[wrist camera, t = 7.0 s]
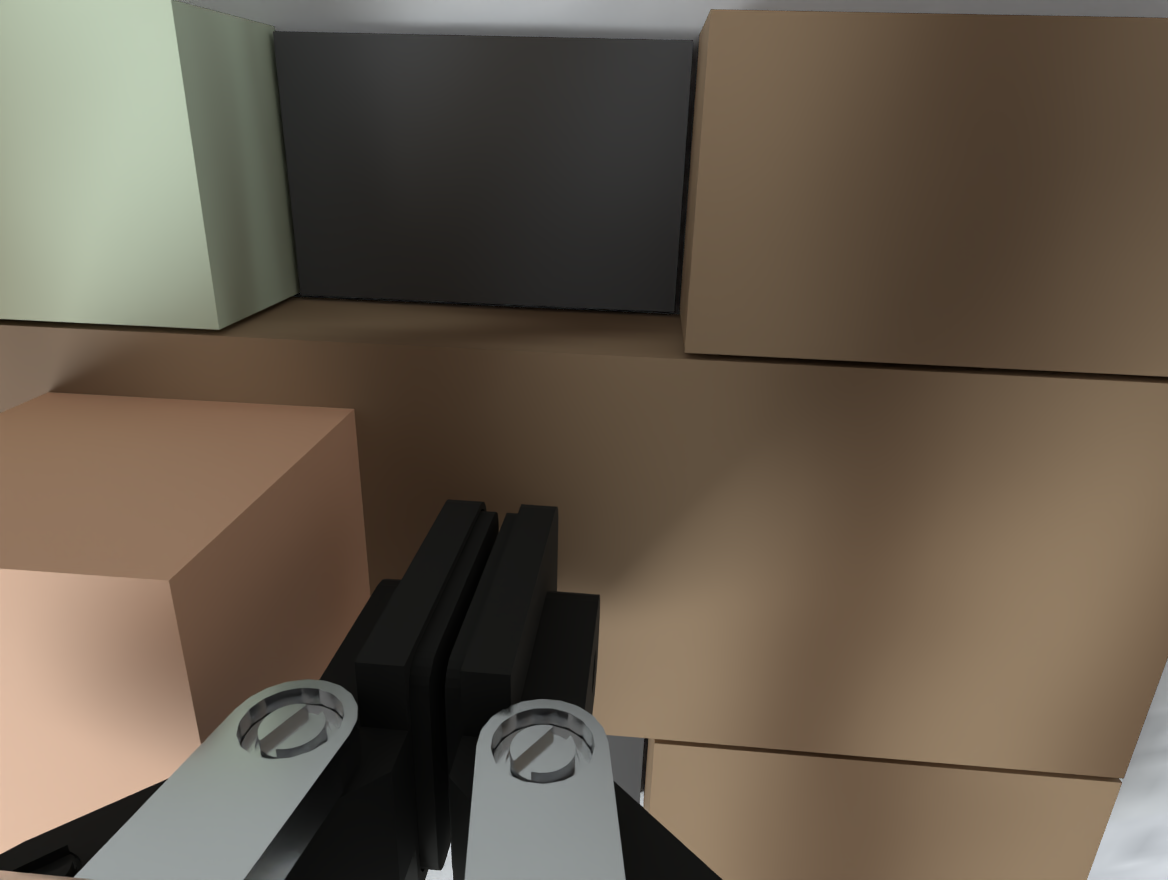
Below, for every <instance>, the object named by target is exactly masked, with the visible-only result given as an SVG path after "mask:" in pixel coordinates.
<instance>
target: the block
mask: <svg viewBox="0 0 1168 880" xmlns="http://www.w3.org/2000/svg"><path fill="white" fill-rule="evenodd" d="M369 598H370V584H369V573H368V561H367V550H366V538H365V527H364V515H363V504H362V492H361V481H360V469H359V458H358V446H357V435H356V423H355V412H354V409H347V408H329V407H311V406H292V405H274V404H256V403H237V402H219V401H201V400H182V399H164V398H146V397H128V396H109V395H91V394H73V393H54V392H47V393H45V394H43V395H41V396H38V397H36V398H34V399H31V400H29V401H27V402H24V403H22V404H20V405H18V406H15V407H13V408H11V409H8V410H6V411H4V412H1V413H0V854H2V853H4V852H6V851H7V850H9V849H11V848H13V847H15V846H17V845H19V844H20V843H22V842H24V841H27V840H29V839H31V838H33V837H36V836H38V835H40V834H43V833H45V832H47V831H49V830H52V829H54V828H56V827H59V826H61V825H63V824H65V823H68V822H70V821H72V820H75V819H77V818H79V817H81V816H84V815H86V814H88V813H90V812H93V811H95V810H97V809H100V808H102V807H104V806H106V805H109V804H111V803H113V802H116V801H118V800H120V799H122V798H125V797H127V796H129V795H132V794H134V793H136V792H138V791H141V790H143V789H145V788H148V787H150V786H152V785H154V784H157V783H159V782H161V781H163V780H166V779H168V778H169V777H170V776H171V775H172V774H173V773H174V772H175V771H176V770H177V769H178V768H179V767H180V766H181V765H182V764H183V763H184V762H185V761H186V760H187V759H188V758H189V756H190V755H191V754H192V753H193V752H194V751H195V750H196V749H197V748H198V747H199V746H200V745H201V744H202V743H203V742H204V741H205V740H206V739H207V738H208V737H209V736H210V735H211V734H212V733H213V731H214V730H215V729H216V728H217V727H218V726H219V725H220V724H221V723H222V722H223V721H224V720H225V719H226V718H227V717H228V716H229V715H230V714H231V713H232V712H233V711H234V710H235V709H236V708H237V707H238V706H239V705H241V704H242V703H243V702H244V701H246V700H247V699H248V698H249V697H251V696H253V695H255V694H257V693H259V692H261V691H262V690H264V689H266V688H269V687H272V686H275V685H278V684H282V683H285V682H289V681H297V680H305V679H311V680H319V679H320V678H321V676H322V674H323V673H324V671H325V670H326V668H327V666H328V665H329V663H330V661H331V660H332V658H333V657H334V655H335V653H336V652H337V650H338V648H339V647H340V645H341V644H342V642H343V640H344V639H345V637H346V635H347V634H348V632H349V631H350V629H351V627H352V626H353V624H354V622H355V621H356V619H357V618H358V616H359V614H360V613H361V611H362V609H363V608H364V606H365V605H366V603H367V601H368V600H369Z"/></svg>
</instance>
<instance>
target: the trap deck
mask: <svg viewBox="0 0 1168 880" xmlns="http://www.w3.org/2000/svg"><path fill="white" fill-rule="evenodd" d="M692 51H693V40H652V39H605V38H558V37H512V36H465V35H419V34H372V33H325V32H279V31H275V27H274V26H270V25H267V24H263V23H259V22H255V21H251V20H248V19H244V18H240V17H236V16H232V15H229V14H225V13H221V12H217V11H213V10H210V9H206V8H202V7H198V6H194V5H190V4H187V3H183V2H179V1H175V0H0V413H1V412H4V411H6V410H8V409H11V408H13V407H15V406H18V405H20V404H22V403H24V402H27V401H29V400H31V399H34V398H36V397H38V396H41V395H43V394H45V393H47V392H54V393H73V394H91V395H109V396H128V397H146V398H164V399H182V400H201V401H219V402H237V403H256V404H274V405H292V406H311V407H329V408H347V409H354V412H355V423H356V435H357V446H358V458H359V469H360V481H361V492H362V504H363V515H364V527H365V538H366V550H367V561H368V573H369V584H370V596H371V595H372V593H373V592H374V590H375V588H376V587H377V585H378V584H379V583H380V582H381V580H383V579H399V580H401V579H402V578H403V576H404V574H405V572H406V571H407V569H408V567H409V565H410V564H411V562H412V560H413V558H414V557H415V555H416V553H417V551H418V550H419V548H420V546H421V544H422V543H423V541H424V539H425V537H426V536H427V534H428V532H429V530H430V529H431V527H432V525H433V523H434V521H435V520H436V518H437V516H438V514H439V513H440V511H441V509H442V507H443V506H444V504H445V502H446V501H447V500H448V499H451V500H466V501H481V502H485V504H486V510H487V511H490V512H497V513H498V519H499V530H500V528H501V525H502V523H503V520H504V518H505V515H506V513H518V511H519V509H520V506H521V504H525V505H540V506H555V507H558V567H557V591H559V592H572V593H586V594H599V595H600V622H599V643H598V660H597V674H596V686H595V696H594V705H593V714H592V715H593V716H594V717H595V718H596V719H597V721H598V722H599V723H600V724H601V725H602V727H603V728H604V730H605V733H606V736H607V739H608V742H609V750H610V758H611V766H612V774H613V781H615V782H616V783H617V784H618V785H619V786H620V787H621V788H622V789H623V790H624V791H626V792H627V793H628V794H629V795H630V796H631V797H632V798H633V799H634V800H635V801H637V802H638V803H639V804H640V790H641V776H642V762H643V748H644V738H648V747H647V761H646V775H645V789H644V809H645V810H647V811H648V812H649V813H650V814H651V815H652V816H653V817H654V818H655V819H656V820H658V821H659V822H660V823H661V824H662V825H663V826H664V827H665V828H666V829H667V830H669V831H670V832H671V833H672V834H673V835H674V836H675V837H676V838H677V839H678V840H680V841H681V842H682V843H683V844H684V845H685V846H686V847H687V848H688V849H689V850H691V851H692V852H693V853H694V854H695V855H696V856H697V857H698V858H699V859H701V860H702V861H703V862H704V863H705V864H706V865H707V866H708V867H709V868H710V869H712V870H713V871H714V872H715V873H716V874H717V875H718V876H719V877H720V878H721V879H723V880H1087V878H1088V875H1089V872H1090V870H1091V867H1092V864H1093V861H1094V859H1095V856H1096V853H1097V850H1098V848H1099V845H1100V842H1101V839H1102V837H1103V834H1104V831H1105V828H1106V826H1107V823H1108V820H1109V817H1110V815H1111V812H1112V809H1113V806H1114V804H1115V801H1116V798H1117V795H1118V793H1119V790H1120V787H1121V784H1122V782H1121V781H1120V779H1119V778H1124V776H1125V774H1126V771H1127V768H1128V765H1129V763H1130V760H1131V757H1132V754H1133V752H1134V749H1135V746H1136V743H1137V741H1138V738H1139V735H1140V732H1141V730H1142V727H1143V724H1144V721H1145V719H1146V716H1147V713H1148V710H1149V708H1150V705H1151V702H1152V699H1153V697H1154V694H1155V691H1156V688H1157V686H1158V683H1159V680H1160V678H1161V675H1162V672H1163V669H1164V667H1165V664H1166V661H1167V658H1168V18H1144V17H1091V16H1037V15H983V14H930V13H876V12H823V11H769V10H715V9H711V10H710V12H709V15H708V17H707V19H706V21H705V24H704V26H703V28H702V30H701V33H700V35H699V46H698V60H697V74H696V88H695V101H694V115H693V129H692V143H691V156H690V170H689V184H688V198H687V211H686V225H685V239H684V252H683V266H682V280H681V294H680V307H679V309H680V314H665V313H643V312H622V311H600V310H578V309H557V308H535V307H513V306H492V305H470V304H448V303H426V302H405V301H383V300H361V299H340V298H318V297H296V296H294V295H296V294H298V293H301V295H314V296H336V297H358V298H380V299H402V300H423V301H445V302H467V303H489V304H511V305H532V306H554V307H576V308H598V309H619V310H641V311H663V312H674V307H675V293H676V279H677V264H678V250H679V236H680V222H681V207H682V193H683V179H684V165H685V151H686V136H687V122H688V108H689V94H690V80H691V65H692Z"/></svg>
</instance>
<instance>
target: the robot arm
mask: <svg viewBox="0 0 1168 880" xmlns="http://www.w3.org/2000/svg"><path fill="white" fill-rule="evenodd" d="M557 567H558V507H555V506H540V505H525V504H521V506H520V509H519V511H518V513H506V515H505V518H504V520H503V523H502V525H501V528H500V530H499V519H498V513H497V512H490V511H487V510H486V504H485V502H481V501H466V500H451V499H448V500H447V501H446V502H445V504H444V506H443V507H442V509H441V511H440V513H439V514H438V516H437V518H436V520H435V521H434V523H433V525H432V527H431V529H430V530H429V532H428V534H427V536H426V537H425V539H424V541H423V543H422V544H421V546H420V548H419V550H418V551H417V553H416V555H415V557H414V558H413V560H412V562H411V564H410V565H409V567H408V569H407V571H406V572H405V574H404V576H403V578H402V579H401V580H399V579H383V580H381V582H380V583H379V584H378V585H377V587H376V588H375V590H374V592H373V593H372V595H371V596H370V598H369V600H368V601H367V603H366V605H365V606H364V608H363V609H362V611H361V613H360V614H359V616H358V618H357V619H356V621H355V622H354V624H353V626H352V627H351V629H350V631H349V632H348V634H347V635H346V637H345V639H344V640H343V642H342V644H341V645H340V647H339V648H338V650H337V652H336V653H335V655H334V657H333V658H332V660H331V661H330V663H329V665H328V666H327V668H326V670H325V671H324V673H323V674H322V676H321V678H320V679H319V680H311V679H305V680H297V681H289V682H285V683H282V684H278V685H275V686H272V687H269V688H266V689H264V690H262V691H261V692H259V693H257V694H255V695H253V696H251V697H249V698H248V699H247V700H246V701H244V702H243V703H242V704H241V705H239V706H238V707H237V708H236V709H235V710H234V711H233V712H232V713H231V714H230V715H229V716H228V717H227V718H226V719H225V720H224V721H223V722H222V723H221V724H220V725H219V726H218V727H217V728H216V729H215V730H214V731H213V733H212V734H211V735H210V736H209V737H208V738H207V739H206V740H205V741H204V742H203V743H202V744H201V745H200V746H199V747H198V748H197V749H196V750H195V751H194V752H193V753H192V754H191V755H190V756H189V758H188V759H187V760H186V761H185V762H184V763H183V764H182V765H181V766H180V767H179V768H178V769H177V770H176V771H175V772H174V773H173V774H172V775H171V776H170V777H169V778H168V779H166V780H163V781H161V782H159V783H157V784H154V785H152V786H150V787H148V788H145V789H143V790H141V791H138V792H136V793H134V794H132V795H129V796H127V797H125V798H122V799H120V800H118V801H116V802H113V803H111V804H109V805H106V806H104V807H102V808H100V809H97V810H95V811H93V812H90V813H88V814H86V815H84V816H81V817H79V818H77V819H75V820H72V821H70V822H68V823H65V824H63V825H61V826H59V827H56V828H54V829H52V830H49V831H47V832H45V833H43V834H40V835H38V836H36V837H33V838H31V839H29V840H27V841H24V842H22V843H20V844H19V845H17V846H15V847H13V848H11V849H9V850H7V851H6V852H4V853H2V854H0V880H425V878H426V875H427V872H428V869H431V870H442V868H443V866H444V863H445V860H446V857H447V853H448V850H449V847H450V843H451V852H452V869H453V880H723V879H721V878H720V877H719V876H718V875H717V874H716V873H715V872H714V871H713V870H712V869H710V868H709V867H708V866H707V865H706V864H705V863H704V862H703V861H702V860H701V859H699V858H698V857H697V856H696V855H695V854H694V853H693V852H692V851H691V850H689V849H688V848H687V847H686V846H685V845H684V844H683V843H682V842H681V841H680V840H678V839H677V838H676V837H675V836H674V835H673V834H672V833H671V832H670V831H669V830H667V829H666V828H665V827H664V826H663V825H662V824H661V823H660V822H659V821H658V820H656V819H655V818H654V817H653V816H652V815H651V814H650V813H649V812H648V811H647V810H645V809H644V808H643V807H642V806H641V805H640V804H639V803H638V802H637V801H635V800H634V799H633V798H632V797H631V796H630V795H629V794H628V793H627V792H626V791H624V790H623V789H622V788H621V787H620V786H619V785H618V784H617V783H616V782H615V781H613V774H612V766H611V758H610V750H609V742H608V739H607V736H606V733H605V730H604V728H603V727H602V725H601V724H600V723H599V722H598V721H597V719H596V718H595V717H594V716H593V715H592V714H593V705H594V696H595V686H596V674H597V660H598V643H599V622H600V595H599V594H586V593H572V592H559V591H557Z"/></svg>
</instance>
